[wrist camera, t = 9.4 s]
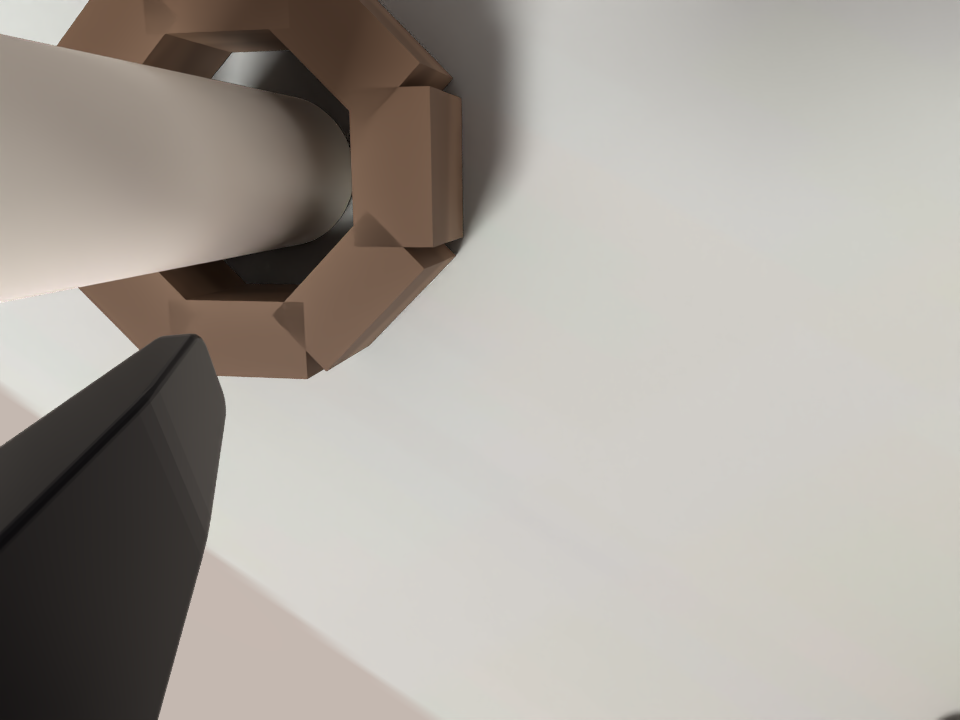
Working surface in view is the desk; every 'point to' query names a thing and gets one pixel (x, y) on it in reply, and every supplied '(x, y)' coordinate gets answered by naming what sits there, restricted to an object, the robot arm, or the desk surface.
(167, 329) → the brown segmented ring
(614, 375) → the desk surface
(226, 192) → the cream tapered cylinder
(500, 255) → the desk surface
